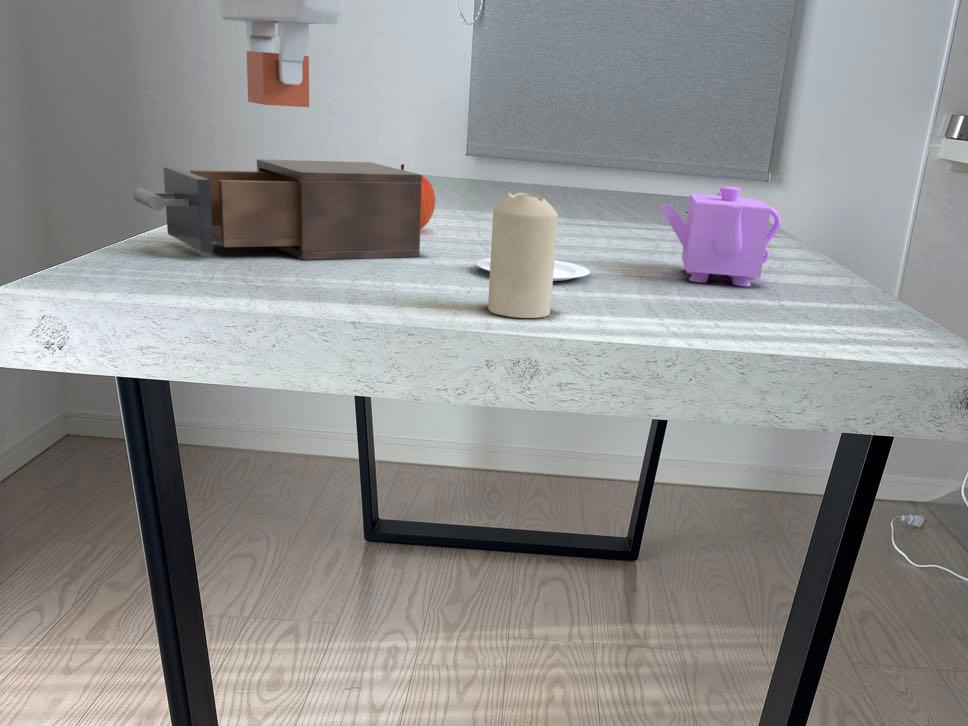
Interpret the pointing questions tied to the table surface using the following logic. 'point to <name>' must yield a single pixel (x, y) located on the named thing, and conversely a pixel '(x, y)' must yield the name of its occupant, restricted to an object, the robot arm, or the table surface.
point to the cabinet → (353, 209)
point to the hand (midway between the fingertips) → (277, 82)
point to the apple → (426, 200)
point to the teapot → (724, 235)
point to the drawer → (228, 208)
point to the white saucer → (560, 269)
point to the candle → (522, 256)
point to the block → (274, 82)
